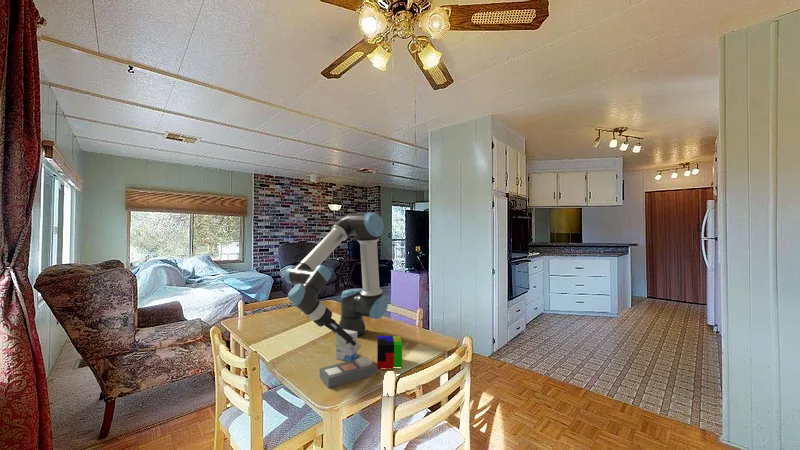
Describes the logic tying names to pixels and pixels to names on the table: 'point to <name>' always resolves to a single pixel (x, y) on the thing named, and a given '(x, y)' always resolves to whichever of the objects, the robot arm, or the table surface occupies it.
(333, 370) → the key
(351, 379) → the keypad
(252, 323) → the table surface
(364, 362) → the key
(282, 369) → the table surface
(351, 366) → the middle key
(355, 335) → the ink box
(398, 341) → the puzzle toy
